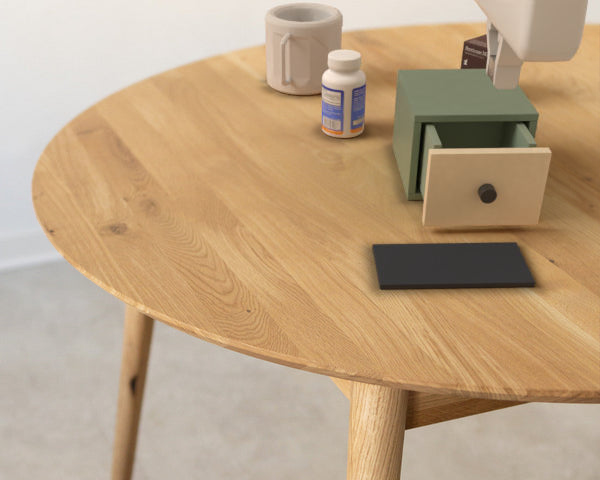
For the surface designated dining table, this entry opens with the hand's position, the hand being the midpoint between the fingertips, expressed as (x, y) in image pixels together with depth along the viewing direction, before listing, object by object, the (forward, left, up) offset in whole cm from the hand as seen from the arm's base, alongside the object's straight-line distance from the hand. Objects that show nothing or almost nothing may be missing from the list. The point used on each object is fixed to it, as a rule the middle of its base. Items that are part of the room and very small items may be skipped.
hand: (500, 82), depth 59 cm
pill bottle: (+9, -36, -19) cm, 42 cm away
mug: (+14, -52, -19) cm, 57 cm away
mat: (+1, -4, -19) cm, 20 cm away
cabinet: (-3, -24, -19) cm, 31 cm away
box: (-12, -48, -19) cm, 53 cm away
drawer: (-3, -16, -18) cm, 24 cm away
